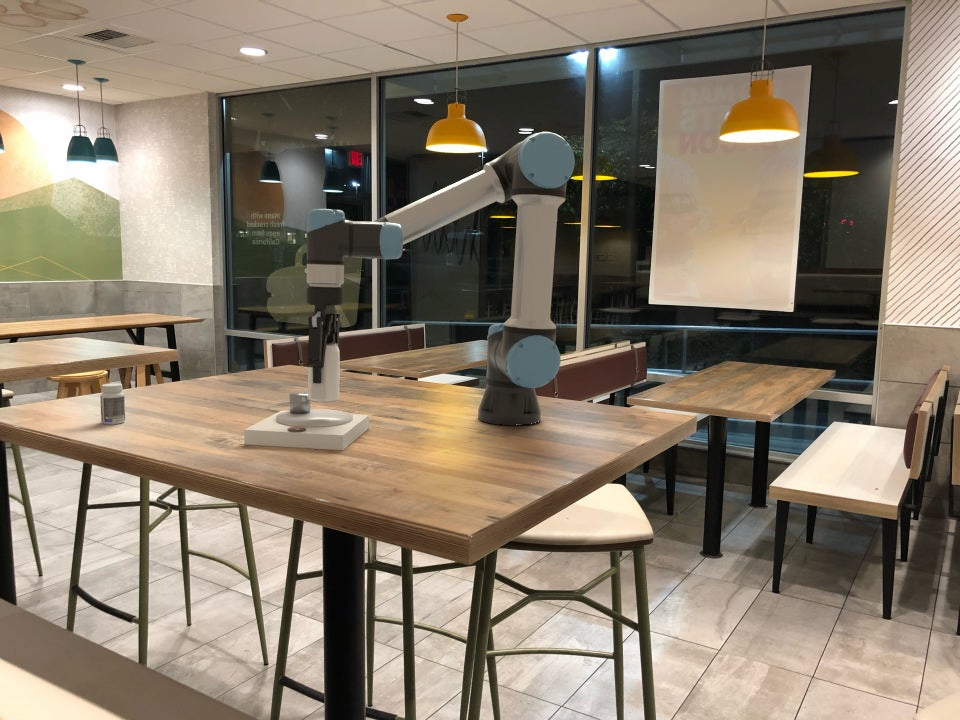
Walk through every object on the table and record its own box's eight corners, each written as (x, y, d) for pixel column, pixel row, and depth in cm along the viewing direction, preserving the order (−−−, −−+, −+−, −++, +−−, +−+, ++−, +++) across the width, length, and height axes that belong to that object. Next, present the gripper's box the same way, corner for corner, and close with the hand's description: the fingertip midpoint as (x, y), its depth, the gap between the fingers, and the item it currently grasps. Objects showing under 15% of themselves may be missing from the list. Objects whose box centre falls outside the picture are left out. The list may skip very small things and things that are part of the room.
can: (331, 403, 153) (332, 345, 151) (302, 401, 154) (303, 343, 153) (343, 398, 159) (344, 342, 158) (315, 396, 160) (316, 341, 159)
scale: (369, 427, 166) (370, 411, 166) (342, 450, 146) (343, 432, 145) (283, 422, 168) (283, 406, 168) (244, 444, 148) (244, 426, 147)
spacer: (313, 410, 165) (313, 392, 164) (306, 414, 160) (306, 396, 160) (293, 409, 165) (293, 391, 165) (286, 413, 161) (286, 395, 160)
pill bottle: (130, 421, 164) (129, 384, 163) (111, 425, 160) (110, 387, 159) (115, 419, 166) (113, 382, 165) (96, 423, 162) (94, 384, 161)
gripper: (322, 283, 164) (320, 387, 166) (290, 285, 144) (289, 403, 147) (355, 285, 163) (353, 389, 166) (328, 287, 144) (326, 405, 147)
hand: (323, 395), depth 156 cm, fingers closed on can, 6 cm apart
